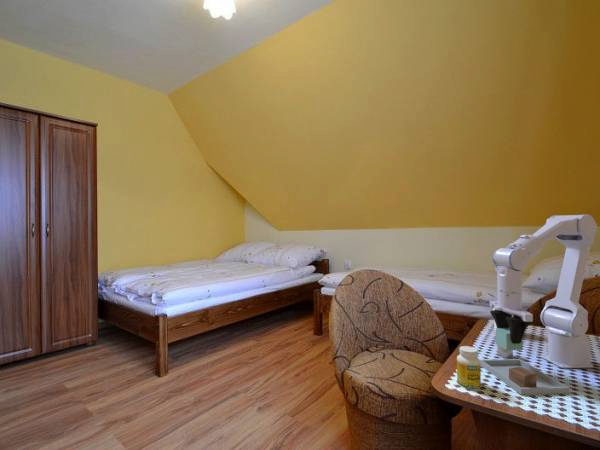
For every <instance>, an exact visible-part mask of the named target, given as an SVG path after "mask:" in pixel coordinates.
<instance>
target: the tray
mask: <svg viewBox="0 0 600 450" xmlns="http://www.w3.org/2000/svg"><path fill="white" fill-rule="evenodd" d="M479 360H480V363H481V367H482V368H484V369H485V370H486V371H487V372H489V373H490V374H491V375H493V376H494V377H496V378H497V379H498V380H500V381H501V382H502V383H504V384H505V385H507V386H508V387H509V388H511V389H512V390H513V391H515V392H516V393H517V394H519V395H520V396H530V395H531V396H533V395H534V396H537V395H539V396H540V395H570V387H569V386H567V385H565V384H564V383H563V382H561V381H559V380H558V379H556V378H553V376H550V375H548V374H546V373H545V372H543V371H541V370H539V369H538V368H537V367H534V366H532V365H531V364H530V363H528V362H526V361H524V360H522V359H521V358H512V359H506V358H500V359H496V358H494V359H479ZM520 366H521V367H523V368H525V369H528V370H530V371H532V372H534V373H536V387H525V388H521V387H520V386H518V385H517V384H516V383H514V382H513V381H511V380H510V379H509V368H514V367H520Z"/></svg>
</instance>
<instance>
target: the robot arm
mask: <svg viewBox="0 0 600 450" xmlns="http://www.w3.org/2000/svg"><path fill="white" fill-rule="evenodd" d="M597 228H598V225H597V223H596V221H595V219H594V218H593V216H592V215H591V214H586V213H585V214H584V213H583V214H573V215H572V214H571V215H569V214H568V215H558V214H555V215H551V216H550V217H549V218H547V219H546V222H545V224H544V225H543V226H541V227H540V228H539V229H538V230H537V231H535V232H534V233H533V234H522V235H520V236H519V238H518V239H517V240H516V241H514V242H513V243H512V242H511V243H509V244H508V245H507V246H506V247H501V248H499V249H496V250H495V251H494V253H493V255H492V256H493V257H491V261H492V264H493V265H494V268H495V269H494V271H495V273H496V276H497V277H496V278H497V279H496V280H497V283H496V284H497V287H496V288H497V293H496V294H497V300H489V307H490V308H492V309H493V308H494V309H495V310H494V311H493V310H490V314H491V316H492V318H494V319H493V321H494V320H495V323H496V326H497V328H510V336H511V342H512V343H513V344H520V343H521V341H522V337H524V334H525V332H526V330H527V328H528V326H529V325H530V324H531V323H532V322H533V320H534V316H533V315H534V314H533V313H531V312H530V311H527V310H526V309H524V308H523V270H525V268H526V267H527V265H528V262H529V261H530V259H531V258H533V257H534V256H536V255H537V254H538V253H540V252H541V251H542V250H543V245H544V244H545V243H547V242H549V241H551V240H553V239H556V240H557V241H558V242H559V243H560V244H563V246H564V247H565V253H564V256H563V257H564V258H563V260H562V261H563V262H562V266H561V267H562V268H561V272H560V275H559V279H558V285H557V289H556V293H555V294H556V295H555V297H552V299H548V300H546V301H545V305H544V307H543V309H542V310H541V313H540V315H539V317H540V322H541V323H542V325H543V326H545V330H547V354H541V355H540V357H541V358H542V359H544V360H546V361H548V362H550V363H551V364H554V365H555V366H558V367H559V368H561V369H580V368H583V369H584V368H585V369H586V368H587V369H588V368H594V365H593V364H592V362H591V361H592V360H591V359H592V358H591V357H592V356H591V354H592V353H591V350H592V347H591V342H590V339H589V338H588V337H587V335H586V333H587V331H588V328H589V321H588V320H589V319H588V315H589V312H588V310H587V309H586V308H584V307H583V305H581V304H580V297H581V291H582V287H583V283H584V278H585V273H586V269H587V264H588V258H589V253H590V250H591V246H593V244H594V242H595V238H596V232H597ZM512 315H513V317H512Z"/></svg>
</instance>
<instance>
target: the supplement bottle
mask: <svg viewBox="0 0 600 450" xmlns="http://www.w3.org/2000/svg"><path fill="white" fill-rule="evenodd" d="M480 360H481V359H480V358H478V350H477V348H474V347H472V346H468V345H464V346H460V347H459V354H458V355H457V356H456V383H457V385H458V386H460V387H462V388H464V389H467V390H470V391H471V390H472V391H473V390H474V391H476V390H480V389H481V386H482V385H481V384H482V381H481V379H482V378H481V373H482V372H481V371H482V370H481V369H482V368H481V367H482V366H481V363H480Z"/></svg>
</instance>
